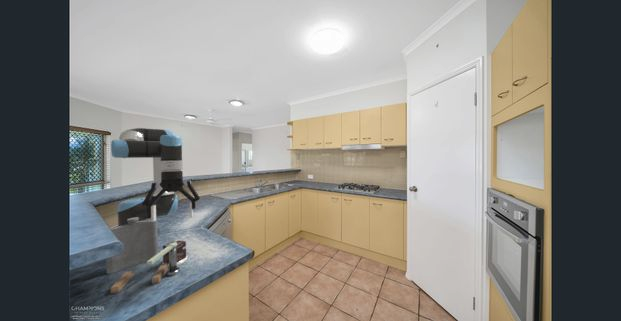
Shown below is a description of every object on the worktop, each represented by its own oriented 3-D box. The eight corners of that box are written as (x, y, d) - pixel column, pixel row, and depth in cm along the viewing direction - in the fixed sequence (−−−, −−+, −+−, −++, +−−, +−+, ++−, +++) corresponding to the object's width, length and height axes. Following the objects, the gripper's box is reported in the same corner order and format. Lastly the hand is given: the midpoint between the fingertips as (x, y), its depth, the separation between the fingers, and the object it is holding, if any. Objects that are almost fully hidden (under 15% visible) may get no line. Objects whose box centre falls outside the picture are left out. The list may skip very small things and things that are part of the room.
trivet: (165, 259, 81) (165, 257, 81) (189, 254, 85) (189, 252, 85) (158, 270, 73) (158, 268, 73) (184, 264, 77) (184, 262, 77)
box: (172, 265, 75) (172, 247, 75) (162, 262, 77) (162, 245, 77) (186, 257, 81) (186, 241, 81) (176, 255, 83) (176, 239, 83)
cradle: (126, 276, 70) (126, 271, 70) (168, 267, 75) (167, 262, 75) (110, 294, 60) (110, 288, 60) (159, 282, 66) (158, 277, 66)
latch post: (168, 270, 73) (167, 246, 72) (181, 268, 74) (180, 244, 74) (164, 277, 68) (163, 251, 68) (178, 274, 70) (177, 249, 70)
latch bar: (144, 265, 59) (144, 261, 59) (170, 245, 73) (170, 242, 73) (154, 264, 60) (154, 260, 60) (178, 244, 73) (178, 242, 73)
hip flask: (106, 275, 71) (105, 224, 71) (106, 270, 74) (105, 222, 73) (158, 257, 83) (157, 214, 82) (157, 254, 85) (156, 213, 85)
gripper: (130, 172, 70) (131, 226, 71) (203, 169, 80) (204, 216, 81) (139, 171, 77) (140, 220, 78) (205, 169, 87) (206, 212, 88)
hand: (173, 218), depth 79 cm, fingers open, 13 cm apart
